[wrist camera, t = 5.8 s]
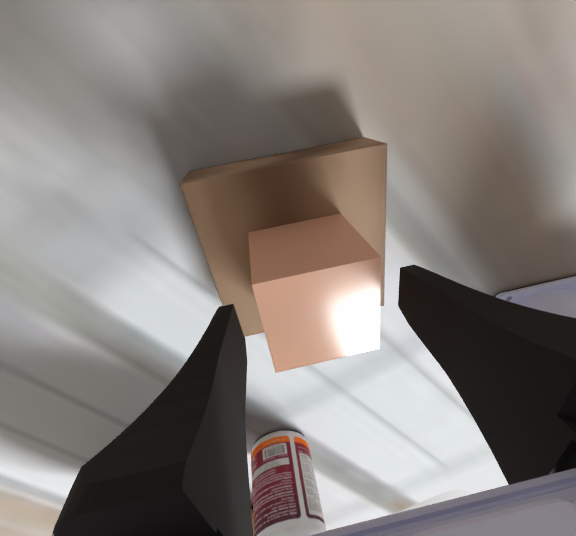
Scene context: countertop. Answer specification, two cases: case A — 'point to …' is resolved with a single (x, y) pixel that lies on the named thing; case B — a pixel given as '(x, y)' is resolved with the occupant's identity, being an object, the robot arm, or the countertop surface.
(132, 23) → the countertop surface
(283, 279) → the terracotta block
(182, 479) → the robot arm
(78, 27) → the countertop surface
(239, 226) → the walnut base
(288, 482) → the pill bottle
